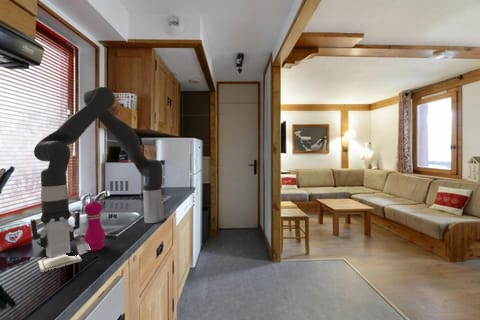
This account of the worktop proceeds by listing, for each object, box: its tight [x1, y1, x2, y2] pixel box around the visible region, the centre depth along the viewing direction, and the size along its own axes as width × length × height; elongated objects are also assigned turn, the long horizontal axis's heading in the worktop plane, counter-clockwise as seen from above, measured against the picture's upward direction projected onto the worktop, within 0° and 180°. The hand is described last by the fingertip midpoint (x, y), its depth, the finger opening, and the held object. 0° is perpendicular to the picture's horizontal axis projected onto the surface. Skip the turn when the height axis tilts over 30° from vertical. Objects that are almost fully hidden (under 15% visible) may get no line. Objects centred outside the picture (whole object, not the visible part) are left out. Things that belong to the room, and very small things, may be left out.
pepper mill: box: [83, 197, 106, 252], centre depth 95 cm, size 7×7×20 cm
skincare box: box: [43, 219, 72, 258], centre depth 84 cm, size 6×4×12 cm
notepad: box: [37, 253, 83, 273], centre depth 84 cm, size 11×10×1 cm
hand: (57, 244), depth 85 cm, fingers closed on skincare box, 6 cm apart
